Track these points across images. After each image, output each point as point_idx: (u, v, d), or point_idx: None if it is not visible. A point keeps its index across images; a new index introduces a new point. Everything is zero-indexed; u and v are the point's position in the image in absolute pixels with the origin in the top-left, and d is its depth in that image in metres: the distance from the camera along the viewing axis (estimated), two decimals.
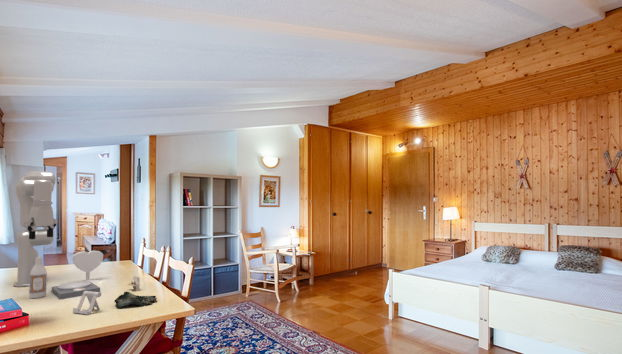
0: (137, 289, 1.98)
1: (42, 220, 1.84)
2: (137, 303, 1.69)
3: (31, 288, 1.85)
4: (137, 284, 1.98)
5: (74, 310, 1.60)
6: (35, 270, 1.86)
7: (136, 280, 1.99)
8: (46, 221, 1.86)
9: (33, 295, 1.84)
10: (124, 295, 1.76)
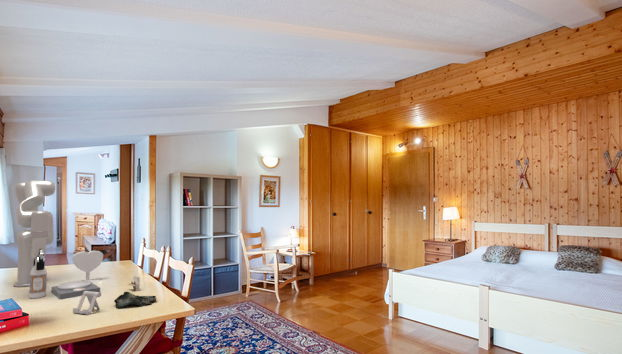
0: (137, 289, 1.98)
1: None
2: (137, 303, 1.69)
3: (31, 288, 1.85)
4: (137, 284, 1.98)
5: (74, 310, 1.60)
6: (35, 270, 1.86)
7: (136, 280, 1.99)
8: None
9: (33, 295, 1.84)
10: (124, 295, 1.76)
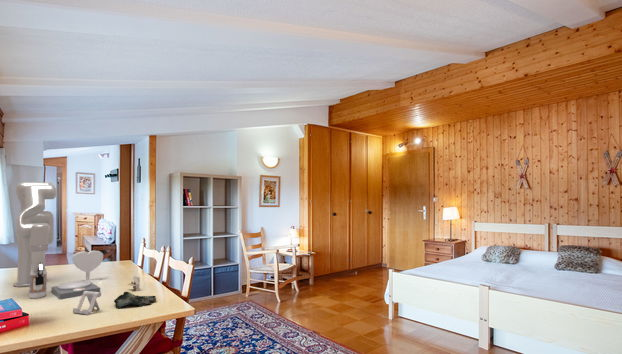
0: (137, 289, 1.98)
1: None
2: (136, 303, 1.69)
3: (31, 288, 1.85)
4: (137, 284, 1.98)
5: (74, 310, 1.60)
6: None
7: (136, 280, 1.99)
8: None
9: (33, 295, 1.84)
10: (124, 295, 1.77)
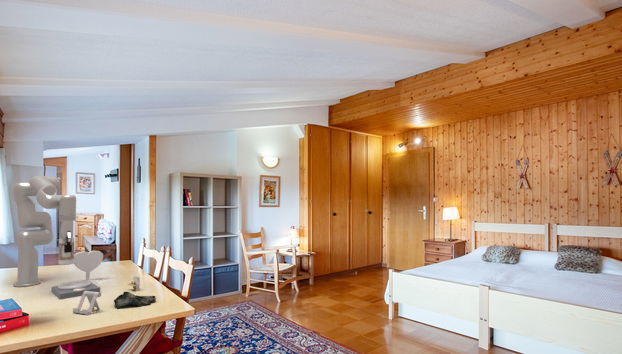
0: (137, 289, 1.98)
1: None
2: (135, 303, 1.69)
3: (60, 255, 1.93)
4: (137, 284, 1.98)
5: (74, 310, 1.60)
6: None
7: (136, 280, 1.99)
8: None
9: (62, 262, 1.93)
10: (124, 295, 1.77)
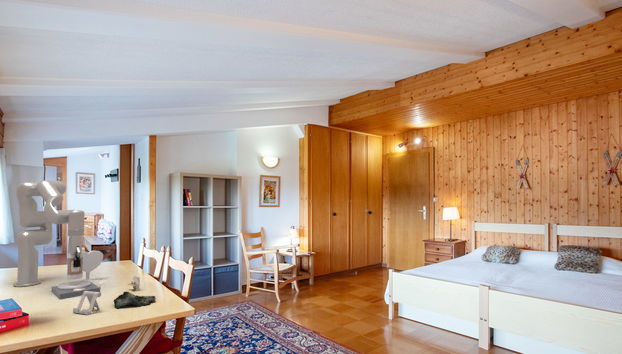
0: (137, 289, 1.98)
1: None
2: (135, 303, 1.69)
3: (69, 270, 1.96)
4: (137, 284, 1.98)
5: (74, 310, 1.60)
6: None
7: (136, 280, 1.99)
8: None
9: (71, 276, 1.95)
10: (123, 295, 1.77)
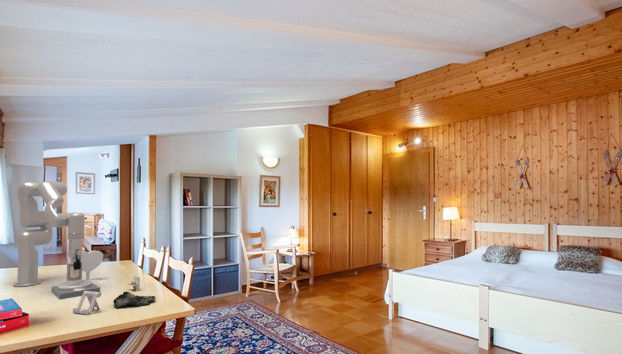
0: (137, 289, 1.98)
1: None
2: (135, 303, 1.69)
3: (68, 276, 1.96)
4: (137, 284, 1.98)
5: (74, 310, 1.60)
6: (72, 259, 1.97)
7: (136, 280, 1.99)
8: None
9: (70, 282, 1.95)
10: (123, 295, 1.77)
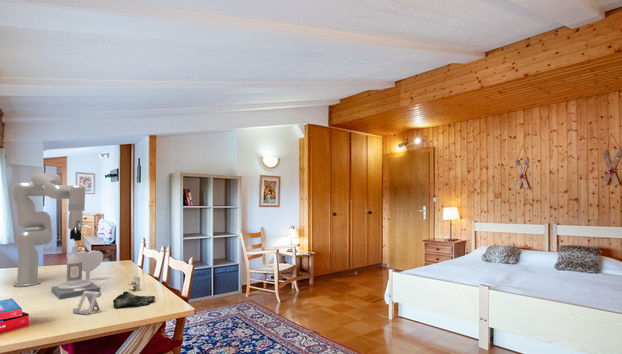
0: (137, 289, 1.98)
1: None
2: (134, 303, 1.69)
3: (68, 276, 1.96)
4: (137, 284, 1.98)
5: (74, 310, 1.60)
6: (72, 259, 1.97)
7: (136, 280, 1.99)
8: None
9: (70, 282, 1.95)
10: (123, 295, 1.77)
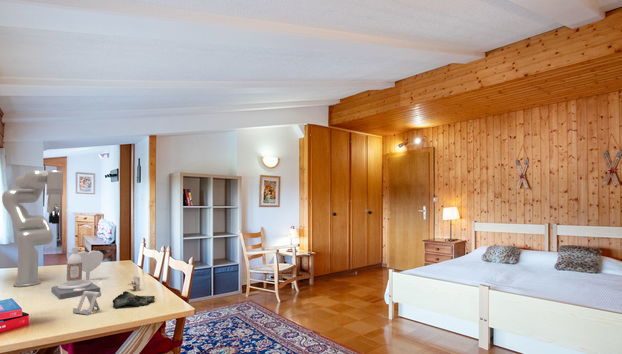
0: (137, 289, 1.98)
1: None
2: (133, 303, 1.69)
3: (68, 276, 1.96)
4: (137, 284, 1.98)
5: (74, 310, 1.60)
6: (72, 259, 1.97)
7: (136, 280, 1.99)
8: None
9: (70, 282, 1.95)
10: (123, 295, 1.77)
